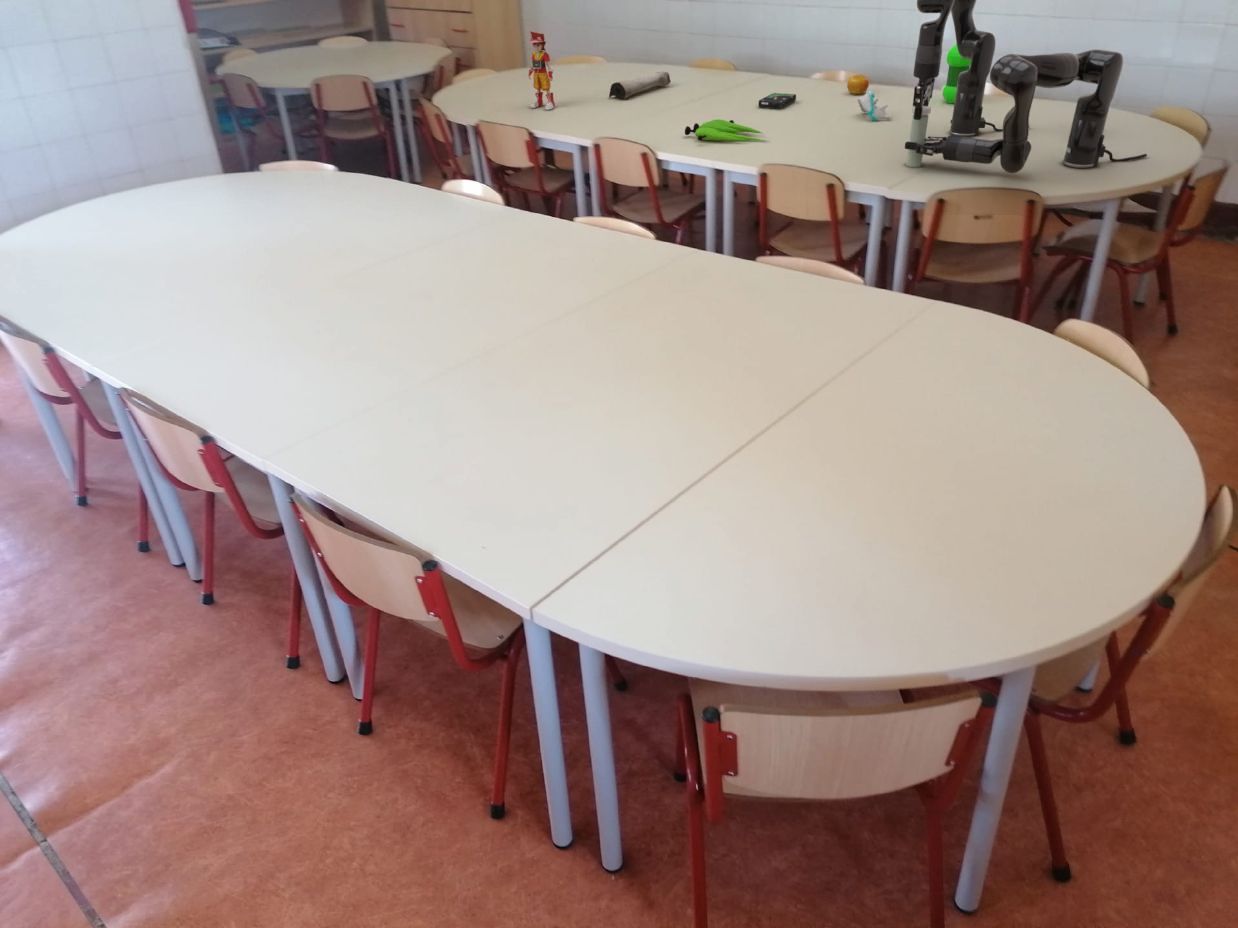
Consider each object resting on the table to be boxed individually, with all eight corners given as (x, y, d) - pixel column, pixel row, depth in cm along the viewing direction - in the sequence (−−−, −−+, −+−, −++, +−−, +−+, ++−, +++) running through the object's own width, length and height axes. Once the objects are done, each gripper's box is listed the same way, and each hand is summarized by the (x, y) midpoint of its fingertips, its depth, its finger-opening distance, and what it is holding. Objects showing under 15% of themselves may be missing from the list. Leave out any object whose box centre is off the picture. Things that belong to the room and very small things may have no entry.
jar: (903, 166, 292) (911, 112, 282) (909, 162, 295) (916, 108, 285) (918, 168, 289) (926, 113, 280) (923, 164, 293) (931, 110, 283)
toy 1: (525, 109, 381) (517, 32, 364) (534, 104, 388) (527, 28, 371) (550, 110, 377) (543, 32, 360) (559, 105, 384) (553, 28, 367)
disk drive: (781, 110, 359) (796, 101, 369) (782, 102, 357) (796, 94, 367) (757, 108, 364) (772, 99, 374) (758, 100, 362) (773, 92, 372)
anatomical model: (852, 90, 344) (878, 82, 343) (855, 117, 350) (880, 110, 349) (864, 99, 332) (891, 92, 331) (867, 127, 338) (893, 120, 337)
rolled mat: (651, 76, 408) (662, 61, 399) (662, 93, 408) (674, 79, 400) (605, 92, 391) (616, 77, 383) (617, 110, 391) (628, 95, 383)
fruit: (842, 86, 371) (854, 68, 368) (844, 90, 378) (856, 72, 375) (859, 97, 369) (871, 79, 366) (861, 100, 377) (873, 83, 374)
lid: (927, 116, 280) (928, 110, 279) (909, 114, 282) (910, 109, 281) (932, 111, 283) (933, 106, 283) (914, 110, 286) (915, 104, 285)
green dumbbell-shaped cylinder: (973, 101, 354) (984, 32, 339) (955, 106, 349) (966, 36, 335) (952, 97, 361) (962, 29, 346) (934, 102, 356) (944, 33, 342)
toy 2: (674, 139, 326) (748, 154, 314) (675, 124, 324) (750, 138, 311) (708, 126, 347) (780, 140, 334) (710, 113, 344) (782, 125, 331)
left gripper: (922, 54, 281) (915, 110, 290) (908, 64, 271) (901, 121, 280) (946, 56, 277) (938, 112, 287) (933, 65, 267) (925, 123, 277)
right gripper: (970, 131, 284) (917, 125, 292) (956, 142, 274) (901, 136, 283) (966, 155, 288) (914, 149, 297) (952, 167, 279) (898, 160, 287)
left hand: (920, 116), depth 283 cm, fingers open, 6 cm apart
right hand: (908, 143), depth 290 cm, fingers closed on jar, 4 cm apart
